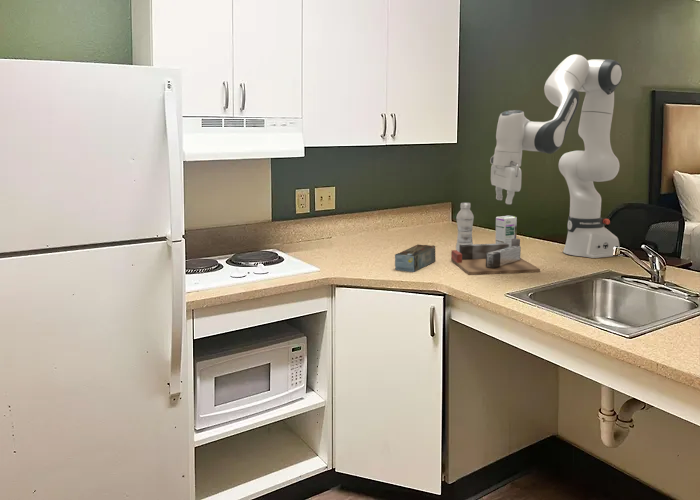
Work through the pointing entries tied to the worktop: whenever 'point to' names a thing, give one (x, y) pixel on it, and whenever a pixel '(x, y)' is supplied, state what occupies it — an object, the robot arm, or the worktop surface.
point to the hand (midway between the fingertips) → (503, 201)
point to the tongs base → (475, 259)
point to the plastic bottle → (464, 225)
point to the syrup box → (506, 229)
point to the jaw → (502, 256)
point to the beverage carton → (415, 258)
